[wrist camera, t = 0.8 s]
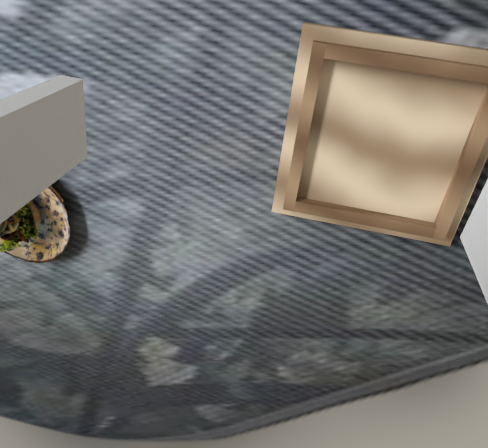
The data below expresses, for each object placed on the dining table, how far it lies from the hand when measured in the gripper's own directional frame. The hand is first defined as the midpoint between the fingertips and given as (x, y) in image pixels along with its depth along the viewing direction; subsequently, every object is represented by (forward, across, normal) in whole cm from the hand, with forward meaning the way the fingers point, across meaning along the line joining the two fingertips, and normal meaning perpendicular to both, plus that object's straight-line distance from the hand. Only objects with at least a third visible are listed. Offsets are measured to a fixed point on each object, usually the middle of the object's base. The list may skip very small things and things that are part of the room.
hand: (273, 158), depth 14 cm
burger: (+24, -26, -21) cm, 41 cm away
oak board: (+23, +7, -6) cm, 25 cm away
